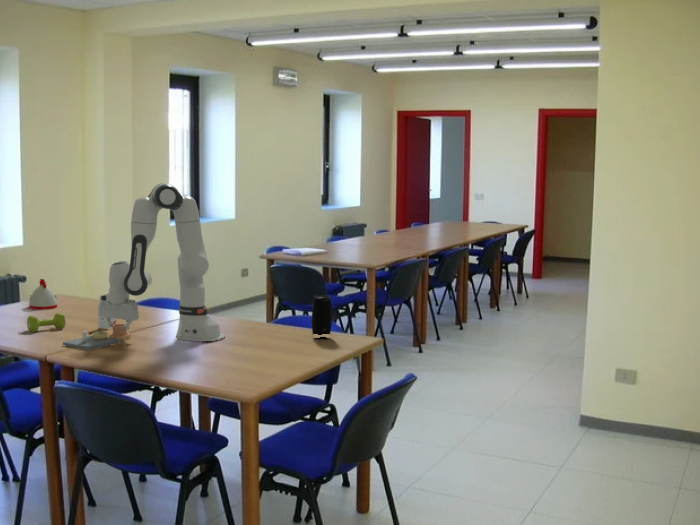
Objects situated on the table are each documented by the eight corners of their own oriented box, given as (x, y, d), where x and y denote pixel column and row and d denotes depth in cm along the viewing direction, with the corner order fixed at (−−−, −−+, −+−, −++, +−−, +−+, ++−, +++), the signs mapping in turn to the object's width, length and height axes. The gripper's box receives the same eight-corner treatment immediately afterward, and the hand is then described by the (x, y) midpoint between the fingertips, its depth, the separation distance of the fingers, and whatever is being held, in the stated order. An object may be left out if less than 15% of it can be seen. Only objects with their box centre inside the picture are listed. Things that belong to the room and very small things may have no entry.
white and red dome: (51, 304, 443) (51, 276, 441) (61, 308, 432) (60, 280, 431) (25, 306, 434) (25, 278, 432) (34, 310, 424) (34, 281, 422)
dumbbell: (31, 333, 370) (31, 317, 369) (25, 330, 376) (25, 314, 375) (67, 329, 381) (67, 314, 380) (60, 326, 387) (60, 311, 386)
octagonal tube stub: (134, 336, 369) (134, 324, 369) (120, 340, 361) (120, 328, 361) (119, 334, 373) (119, 322, 373) (104, 337, 365) (104, 325, 365)
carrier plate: (119, 342, 357) (119, 328, 356) (89, 350, 341) (89, 335, 340) (94, 338, 364) (94, 323, 363) (62, 345, 348) (62, 330, 347)
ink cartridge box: (106, 325, 393) (106, 294, 391) (116, 326, 392) (116, 295, 390) (97, 328, 384) (97, 297, 382) (107, 329, 383) (107, 298, 382)
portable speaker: (330, 340, 376) (331, 298, 373) (310, 339, 376) (311, 297, 374) (332, 336, 384) (333, 295, 382) (312, 335, 385) (313, 294, 382)
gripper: (142, 299, 363) (141, 330, 365) (106, 294, 372) (106, 324, 374) (132, 301, 357) (131, 332, 359) (96, 296, 366) (96, 326, 368)
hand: (118, 328), depth 366 cm, fingers open, 8 cm apart
